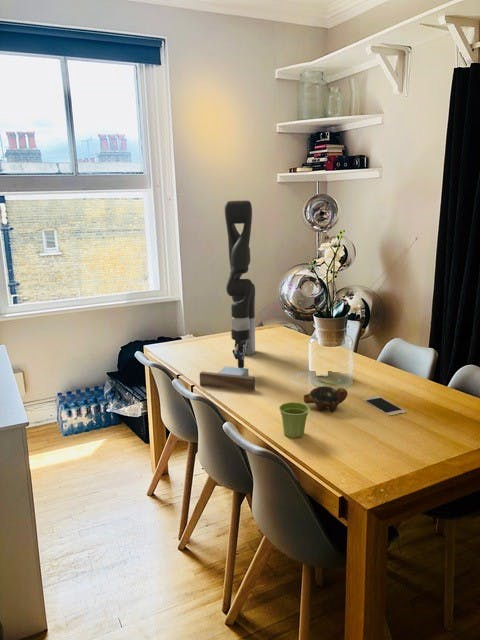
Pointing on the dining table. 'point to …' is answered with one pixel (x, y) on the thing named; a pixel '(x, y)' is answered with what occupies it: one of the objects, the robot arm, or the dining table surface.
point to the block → (234, 371)
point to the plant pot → (294, 418)
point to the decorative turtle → (326, 397)
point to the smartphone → (384, 405)
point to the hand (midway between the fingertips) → (241, 367)
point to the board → (227, 381)
